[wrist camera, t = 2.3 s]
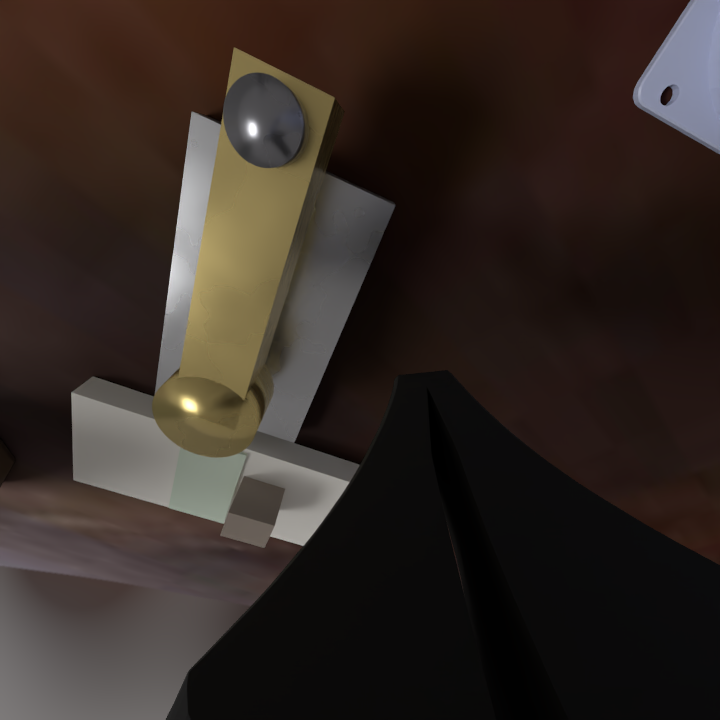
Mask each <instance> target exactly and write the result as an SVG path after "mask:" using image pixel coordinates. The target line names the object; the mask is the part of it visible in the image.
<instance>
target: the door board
mask: <svg viewBox="0 0 720 720" xmlns="http://www.w3.org/2000/svg"><path fill="white" fill-rule="evenodd" d="M153 398H154V396H151V395H148V394H145V393H142V392H139V391H136V390H133V389H130V388H127V387H124V386H121V385H118V384H115V383H112V382H109V381H106V380H103V379H99V378H96V377H91V378H90V379H89V380H87V381H86V382H85V383H83V384H82V385H81V386H79V387H78V388H77V389H75V390H74V391H73V392H71V399H72V442H73V480H75V481H78V482H82V483H85V484H89V485H92V486H96V487H99V488H103V489H106V490H110V491H113V492H117V493H120V494H124V495H127V496H131V497H134V498H138V499H141V500H145V501H148V502H152V503H155V504H159V505H162V506H166V507H169V508H171V509H174V510H178V511H181V512H185V513H188V514H192V515H195V516H199V517H202V518H206V519H209V520H213V521H216V522H220V523H223V524H224V526H223V529H222V532H221V535H220V536H224V537H227V538H231V539H235V540H238V541H242V542H245V543H249V544H252V545H256V546H260V547H263V548H265V546H266V543H267V541H268V539H269V537H270V536H271V537H274V538H278V539H281V540H285V541H288V542H292V543H295V544H299V545H302V546H304V545H305V543H306V542H307V541H308V540H309V539H310V537H311V536H312V535H313V533H314V532H315V531H316V529H317V528H318V527H319V526H320V524H321V523H322V522H323V520H324V519H325V517H326V516H327V515H328V513H329V512H330V510H331V509H332V507H333V506H334V505H335V503H336V502H337V500H338V499H339V498H340V496H341V495H342V493H343V492H344V490H345V489H346V487H347V485H348V484H349V482H350V481H351V479H352V478H353V476H354V474H355V473H356V471H357V469H358V467H359V466H360V465H359V464H356V463H353V462H350V461H347V460H344V459H341V458H338V457H335V456H332V455H329V454H326V453H323V452H320V451H317V450H314V449H311V448H308V447H305V446H302V445H299V444H296V443H292V442H289V441H286V440H283V439H280V438H277V437H274V436H271V435H268V434H265V433H262V432H259V431H257V432H256V434H255V437H254V439H253V441H252V442H251V444H250V445H249V446H248V447H247V448H246V449H245V450H243V451H242V452H240V453H238V454H236V455H233V456H229V457H221V458H214V457H206V456H201V455H197V454H194V453H192V452H189V451H187V450H185V449H183V448H181V447H179V446H178V445H176V444H175V443H173V442H172V441H171V440H170V439H169V438H168V437H167V436H166V435H165V434H164V433H163V432H162V431H161V430H160V428H159V427H158V425H157V423H156V421H155V419H154V416H153V411H152V402H153Z"/></svg>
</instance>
